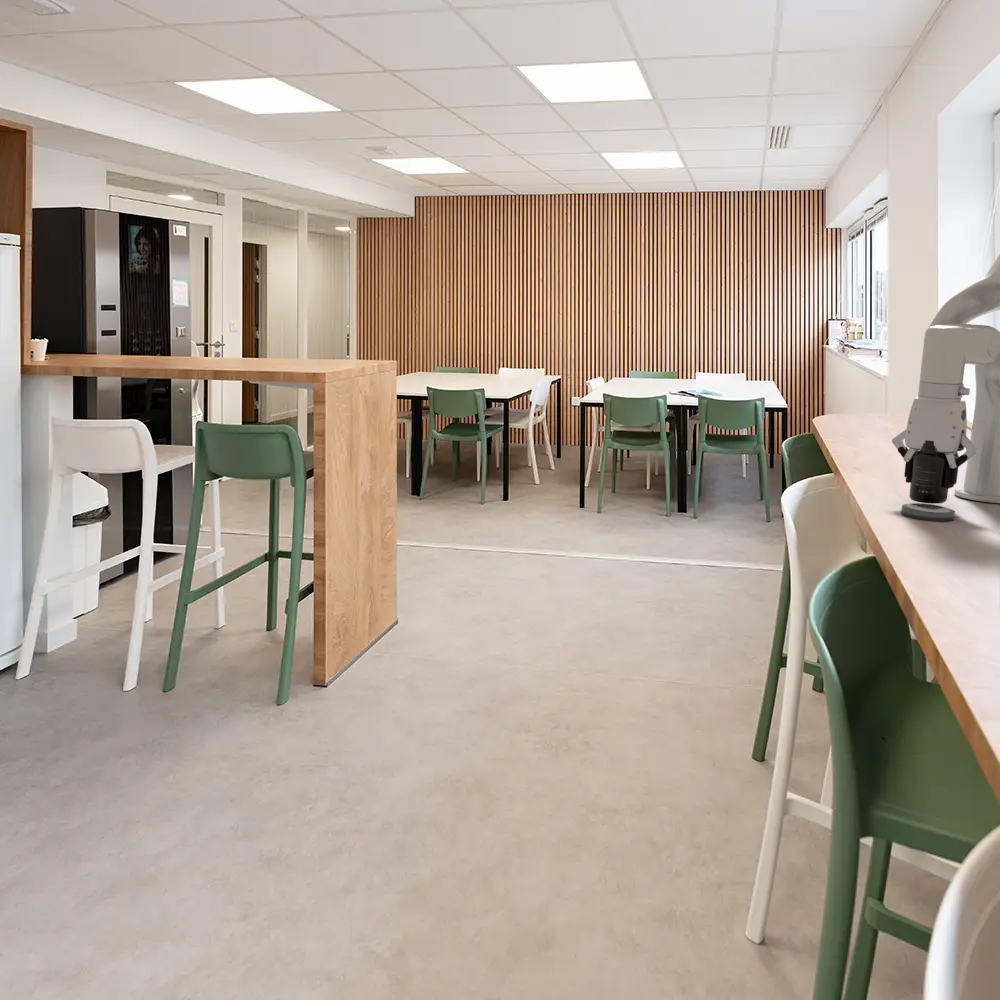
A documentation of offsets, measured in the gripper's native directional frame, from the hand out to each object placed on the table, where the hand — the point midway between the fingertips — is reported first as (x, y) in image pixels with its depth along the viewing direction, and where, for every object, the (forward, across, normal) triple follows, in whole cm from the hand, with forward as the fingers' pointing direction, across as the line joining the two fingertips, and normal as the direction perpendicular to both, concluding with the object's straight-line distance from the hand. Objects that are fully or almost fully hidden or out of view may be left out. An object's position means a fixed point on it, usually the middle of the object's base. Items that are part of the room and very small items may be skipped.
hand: (929, 483), depth 196 cm
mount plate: (+4, -4, +11) cm, 12 cm away
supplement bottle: (+3, 0, 0) cm, 3 cm away
